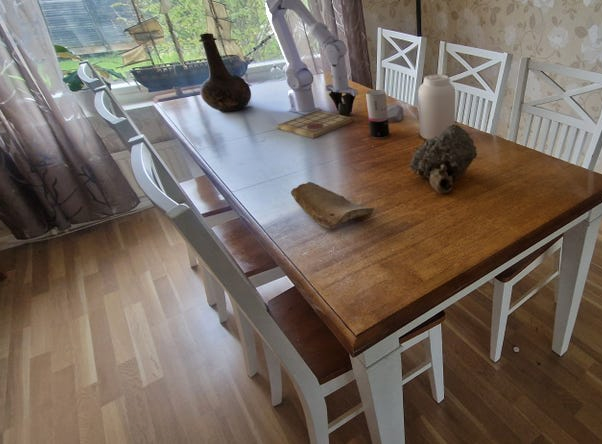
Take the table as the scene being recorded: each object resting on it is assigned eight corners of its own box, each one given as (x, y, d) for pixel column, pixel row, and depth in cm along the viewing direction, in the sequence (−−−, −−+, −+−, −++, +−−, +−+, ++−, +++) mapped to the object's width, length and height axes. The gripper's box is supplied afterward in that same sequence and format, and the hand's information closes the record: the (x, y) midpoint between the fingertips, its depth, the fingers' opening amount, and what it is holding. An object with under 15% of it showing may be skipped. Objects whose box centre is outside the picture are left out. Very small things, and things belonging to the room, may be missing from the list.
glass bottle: (263, 106, 158) (243, 33, 143) (222, 118, 146) (196, 38, 130) (238, 99, 166) (217, 29, 150) (197, 110, 154) (170, 34, 138)
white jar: (428, 144, 127) (427, 83, 115) (414, 132, 136) (411, 74, 124) (460, 138, 131) (462, 78, 120) (444, 126, 141) (445, 70, 129)
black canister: (336, 115, 150) (334, 102, 147) (344, 112, 153) (343, 100, 150) (345, 117, 148) (343, 104, 145) (353, 114, 151) (351, 101, 149)
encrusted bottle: (447, 110, 102) (457, 119, 89) (481, 147, 108) (496, 161, 95) (401, 158, 106) (403, 173, 92) (436, 191, 111) (444, 210, 98)
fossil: (325, 200, 101) (289, 206, 93) (326, 177, 98) (289, 181, 91) (375, 229, 88) (338, 238, 81) (377, 203, 86) (339, 211, 79)
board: (278, 128, 137) (277, 124, 136) (318, 113, 151) (318, 109, 151) (313, 138, 130) (312, 133, 129) (352, 121, 144) (352, 117, 143)
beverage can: (366, 136, 131) (361, 93, 123) (378, 131, 136) (373, 88, 128) (382, 140, 129) (377, 96, 120) (393, 134, 134) (389, 91, 125)
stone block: (400, 126, 145) (405, 113, 152) (398, 115, 141) (403, 102, 148) (370, 126, 146) (376, 113, 153) (368, 115, 142) (374, 102, 149)
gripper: (317, 75, 142) (324, 111, 150) (346, 80, 136) (351, 117, 144) (331, 71, 147) (336, 106, 155) (359, 76, 141) (363, 112, 149)
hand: (344, 111), depth 150 cm, fingers closed on black canister, 4 cm apart
